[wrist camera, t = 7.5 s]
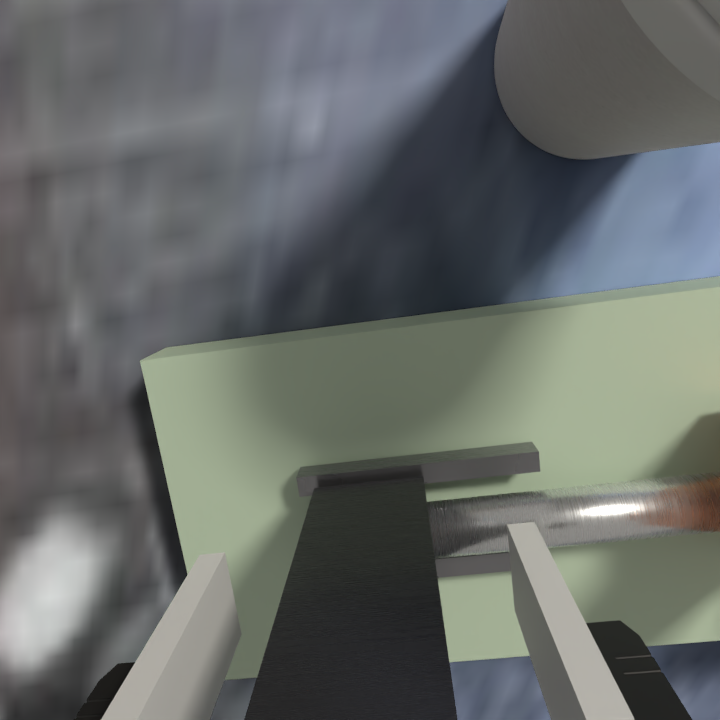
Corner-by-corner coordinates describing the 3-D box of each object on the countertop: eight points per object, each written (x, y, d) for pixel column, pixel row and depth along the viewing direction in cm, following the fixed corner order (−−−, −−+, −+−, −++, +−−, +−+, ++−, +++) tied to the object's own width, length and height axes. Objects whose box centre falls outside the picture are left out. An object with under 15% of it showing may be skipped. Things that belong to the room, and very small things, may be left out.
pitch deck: (228, 638, 25) (211, 681, 22) (166, 347, 22) (139, 360, 20) (783, 591, 23) (828, 631, 20) (789, 267, 20) (841, 271, 18)
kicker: (336, 596, 20) (273, 1022, 9) (312, 450, 19) (208, 738, 8) (791, 555, 19) (1339, 989, 8) (794, 396, 18) (1438, 650, 7)
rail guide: (318, 573, 21) (315, 589, 20) (300, 467, 20) (296, 477, 19) (540, 553, 20) (547, 567, 19) (532, 441, 19) (539, 451, 18)
